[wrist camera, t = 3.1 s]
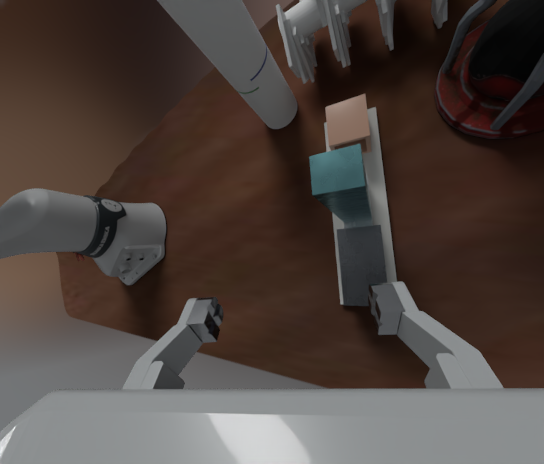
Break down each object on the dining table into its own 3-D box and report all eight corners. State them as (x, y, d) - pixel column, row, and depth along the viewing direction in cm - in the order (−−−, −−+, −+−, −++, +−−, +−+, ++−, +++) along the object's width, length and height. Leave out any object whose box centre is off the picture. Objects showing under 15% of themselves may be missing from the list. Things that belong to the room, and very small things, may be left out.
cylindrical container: (304, 109, 41) (213, -63, 19) (274, 136, 43) (161, 11, 21) (285, 85, 43) (184, -96, 21) (257, 112, 45) (139, -25, 23)
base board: (399, 304, 32) (399, 306, 31) (341, 302, 35) (340, 304, 34) (375, 111, 36) (375, 106, 34) (325, 126, 39) (324, 123, 38)
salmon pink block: (371, 151, 34) (370, 135, 29) (335, 160, 36) (328, 146, 32) (367, 115, 35) (365, 93, 30) (332, 126, 37) (325, 107, 32)
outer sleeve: (388, 298, 31) (390, 306, 27) (348, 297, 34) (343, 305, 29) (380, 228, 33) (380, 224, 28) (342, 232, 35) (336, 229, 30)
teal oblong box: (380, 292, 31) (382, 343, 14) (353, 292, 33) (324, 337, 15) (368, 182, 33) (355, 103, 16) (343, 187, 35) (306, 119, 17)
